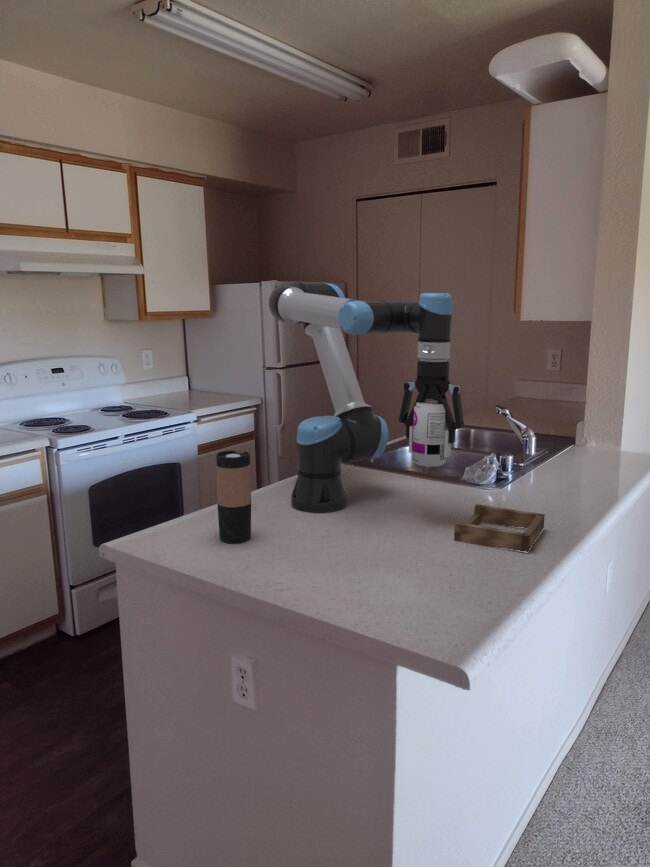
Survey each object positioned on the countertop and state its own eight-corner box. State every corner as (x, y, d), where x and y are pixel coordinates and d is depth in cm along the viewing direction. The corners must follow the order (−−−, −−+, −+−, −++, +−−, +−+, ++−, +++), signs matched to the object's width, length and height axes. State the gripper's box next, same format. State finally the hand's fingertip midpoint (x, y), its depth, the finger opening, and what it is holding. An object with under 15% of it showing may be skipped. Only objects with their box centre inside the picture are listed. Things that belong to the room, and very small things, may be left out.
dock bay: (454, 540, 148) (454, 523, 147) (475, 519, 162) (476, 504, 162) (527, 553, 140) (529, 536, 139) (543, 530, 155) (544, 514, 154)
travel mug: (224, 546, 144) (222, 459, 140) (214, 535, 151) (211, 452, 147) (256, 540, 148) (255, 455, 144) (245, 530, 154) (243, 448, 150)
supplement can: (408, 465, 155) (410, 403, 152) (416, 457, 162) (419, 398, 159) (442, 468, 152) (445, 405, 149) (449, 461, 159) (452, 400, 156)
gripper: (385, 358, 154) (383, 451, 158) (472, 363, 144) (467, 462, 148) (398, 356, 160) (395, 445, 165) (482, 361, 150) (476, 456, 155)
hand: (429, 453), depth 157 cm, fingers closed on supplement can, 8 cm apart
